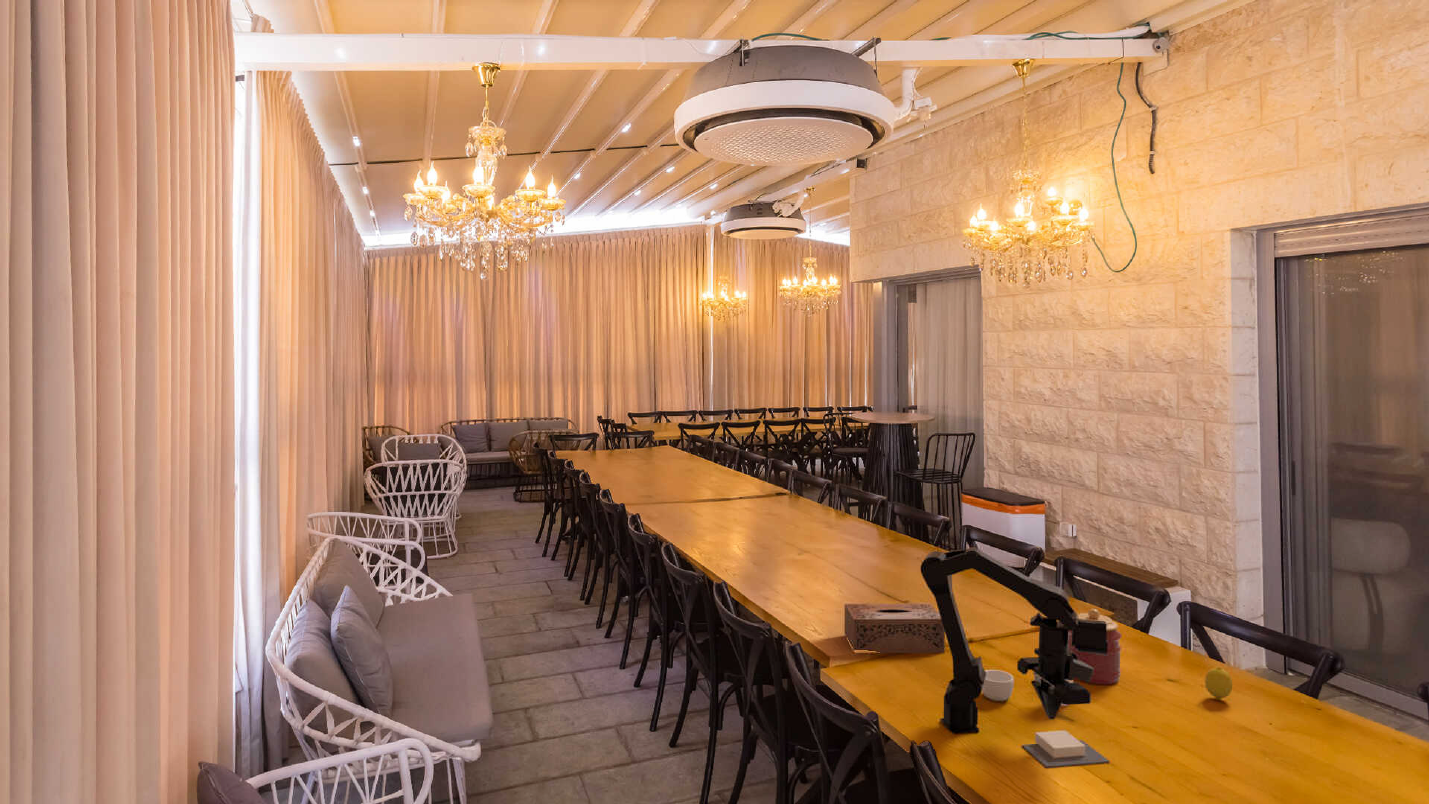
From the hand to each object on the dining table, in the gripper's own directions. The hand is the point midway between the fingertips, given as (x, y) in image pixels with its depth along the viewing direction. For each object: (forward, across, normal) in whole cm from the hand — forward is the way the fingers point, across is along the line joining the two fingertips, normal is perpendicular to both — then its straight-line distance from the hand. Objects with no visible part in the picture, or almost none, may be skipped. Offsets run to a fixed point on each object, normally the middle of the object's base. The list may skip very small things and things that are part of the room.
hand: (1051, 718), depth 166 cm
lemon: (+5, +15, -53) cm, 55 cm away
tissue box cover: (+6, +62, +12) cm, 63 cm away
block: (+4, 0, 0) cm, 4 cm away
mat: (+5, -5, 0) cm, 7 cm away
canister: (+6, +33, -32) cm, 46 cm away
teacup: (+6, +24, -1) cm, 25 cm away
